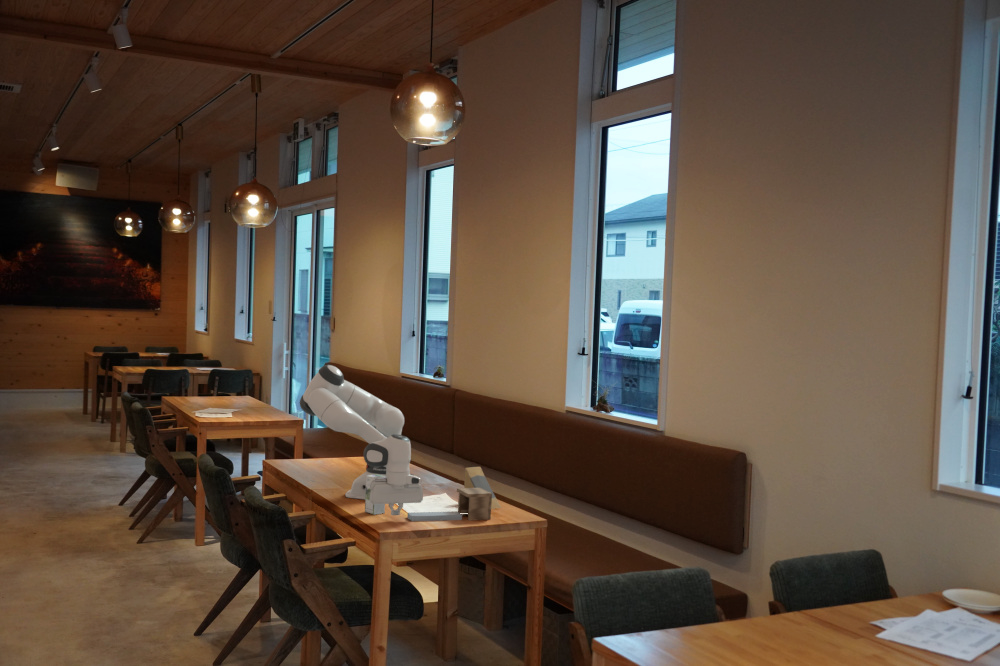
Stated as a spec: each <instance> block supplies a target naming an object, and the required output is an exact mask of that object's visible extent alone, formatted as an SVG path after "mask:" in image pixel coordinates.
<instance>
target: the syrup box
mask: <svg viewBox="0 0 1000 666" xmlns="http://www.w3.org/2000/svg"><path fill="white" fill-rule="evenodd" d="M375 479H386V477H385V476H381V475H377V474H374V475H368V476H367V477H366V497H365V499H364V501H365V502H364V513H367V514H369V513H370V514H369V515H374V516H376V514H377V515H383V514H385V510H386V509H385V508H386V504H372V503H371V502H370V500H369V498H370V492H371V488H370V486H371V482H372V481H373V480H375ZM373 482H375V481H373ZM382 513H383V514H382Z"/></svg>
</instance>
